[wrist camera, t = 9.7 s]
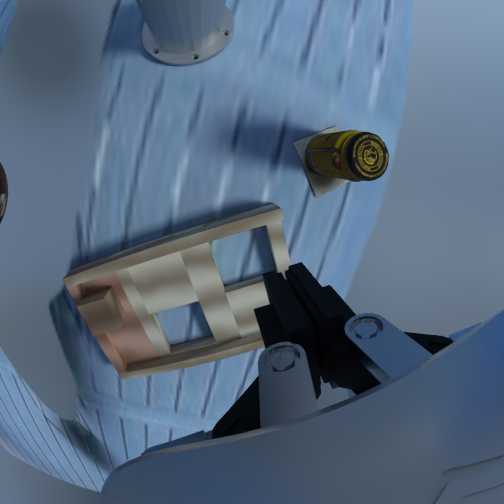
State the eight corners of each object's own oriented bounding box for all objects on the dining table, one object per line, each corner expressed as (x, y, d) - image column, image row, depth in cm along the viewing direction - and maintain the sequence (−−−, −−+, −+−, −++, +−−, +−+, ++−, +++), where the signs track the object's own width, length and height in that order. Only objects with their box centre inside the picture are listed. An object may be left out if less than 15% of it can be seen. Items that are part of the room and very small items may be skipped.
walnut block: (86, 293, 35) (76, 306, 31) (112, 285, 35) (103, 298, 32) (100, 320, 37) (93, 335, 33) (126, 313, 37) (119, 328, 33)
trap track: (73, 268, 35) (62, 278, 32) (273, 202, 37) (281, 208, 33) (127, 364, 43) (123, 379, 39) (299, 319, 44) (307, 332, 41)
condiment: (336, 125, 35) (384, 117, 23) (356, 178, 38) (406, 189, 27) (292, 142, 35) (329, 137, 24) (315, 197, 38) (357, 215, 27)
